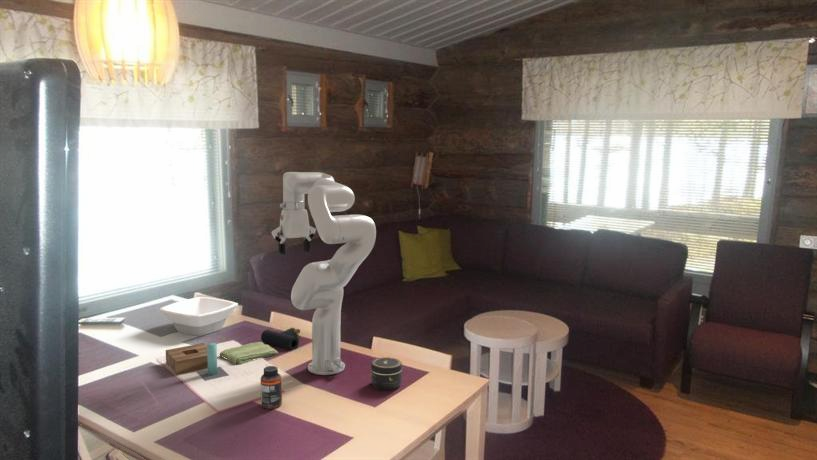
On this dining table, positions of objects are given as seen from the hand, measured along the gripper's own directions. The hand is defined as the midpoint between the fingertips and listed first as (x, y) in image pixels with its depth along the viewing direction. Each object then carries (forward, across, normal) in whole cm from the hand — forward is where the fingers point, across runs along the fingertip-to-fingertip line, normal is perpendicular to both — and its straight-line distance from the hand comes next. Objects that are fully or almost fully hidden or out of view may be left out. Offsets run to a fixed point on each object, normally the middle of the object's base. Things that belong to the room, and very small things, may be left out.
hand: (294, 252), depth 212 cm
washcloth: (+38, -17, +3) cm, 41 cm away
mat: (+37, -34, -7) cm, 50 cm away
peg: (+36, -34, -7) cm, 50 cm away
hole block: (+37, -37, +5) cm, 52 cm away
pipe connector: (+37, 0, +8) cm, 38 cm away
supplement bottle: (+37, -27, -40) cm, 61 cm away
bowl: (+37, -22, +43) cm, 61 cm away
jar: (+37, +9, -47) cm, 60 cm away
